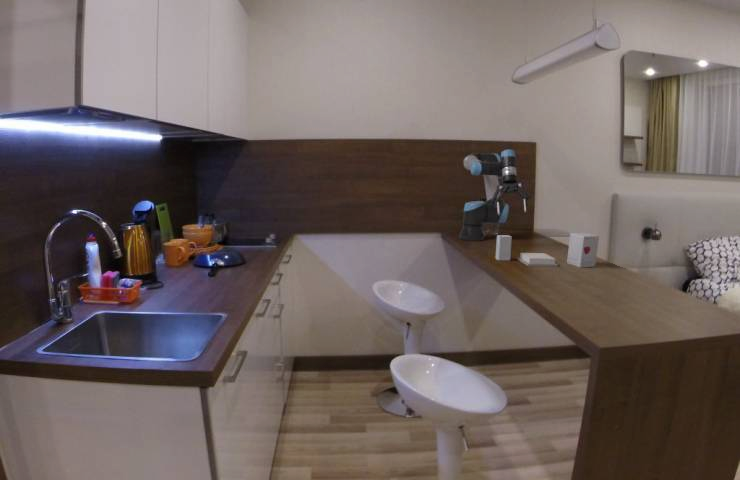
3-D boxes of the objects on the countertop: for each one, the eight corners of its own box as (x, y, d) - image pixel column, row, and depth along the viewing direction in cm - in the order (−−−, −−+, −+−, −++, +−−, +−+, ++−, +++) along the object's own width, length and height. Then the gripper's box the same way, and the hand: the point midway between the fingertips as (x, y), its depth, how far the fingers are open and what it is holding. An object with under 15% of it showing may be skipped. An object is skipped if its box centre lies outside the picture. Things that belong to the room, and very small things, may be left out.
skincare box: (506, 258, 211) (508, 234, 209) (510, 260, 206) (512, 236, 204) (494, 258, 210) (496, 234, 208) (498, 260, 206) (500, 236, 204)
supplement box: (579, 267, 196) (583, 236, 193) (566, 263, 204) (569, 232, 201) (595, 267, 198) (599, 235, 195) (581, 262, 207) (585, 232, 204)
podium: (517, 259, 210) (517, 252, 210) (544, 259, 211) (545, 252, 210) (527, 266, 197) (528, 258, 196) (557, 266, 197) (558, 259, 196)
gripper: (485, 177, 234) (486, 212, 228) (533, 170, 225) (536, 207, 218) (487, 182, 241) (488, 217, 234) (534, 176, 231) (537, 212, 225)
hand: (511, 212), depth 226 cm, fingers open, 13 cm apart
